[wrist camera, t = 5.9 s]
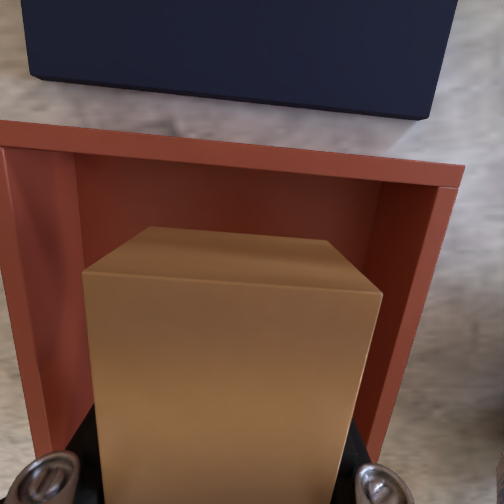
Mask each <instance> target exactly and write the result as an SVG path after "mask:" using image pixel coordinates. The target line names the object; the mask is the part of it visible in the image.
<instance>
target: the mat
mask: <svg viewBox="0 0 504 504" xmlns="http://www.w3.org/2000/svg"><path fill="white" fill-rule="evenodd" d="M457 2H458V0H21V8H22V15H23V23H24V31H25V39H26V47H27V55H28V63H29V71H30V75H32V76H34V77H37V78H39V79H41V80H47V81H56V82H65V83H74V84H84V85H93V86H102V87H111V88H121V89H130V90H139V91H148V92H158V93H167V94H176V95H185V96H195V97H204V98H213V99H222V100H232V101H241V102H250V103H259V104H269V105H278V106H287V107H296V108H306V109H315V110H324V111H333V112H343V113H352V114H361V115H370V116H380V117H389V118H398V119H407V120H417V121H419V120H423V119H427V118H428V117H429V114H430V110H431V106H432V102H433V98H434V94H435V90H436V86H437V82H438V78H439V74H440V70H441V66H442V62H443V58H444V54H445V50H446V46H447V42H448V38H449V34H450V30H451V26H452V22H453V18H454V14H455V10H456V6H457Z"/></svg>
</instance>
